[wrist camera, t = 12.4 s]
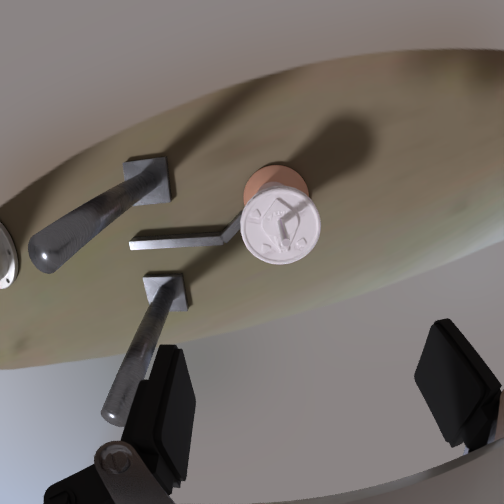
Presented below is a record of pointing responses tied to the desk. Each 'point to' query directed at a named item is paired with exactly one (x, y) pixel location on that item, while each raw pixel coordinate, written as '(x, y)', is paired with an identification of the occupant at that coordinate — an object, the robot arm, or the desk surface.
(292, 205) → the smoothie
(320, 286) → the desk surface
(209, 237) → the bent rail
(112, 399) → the post
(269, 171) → the coaster
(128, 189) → the post
